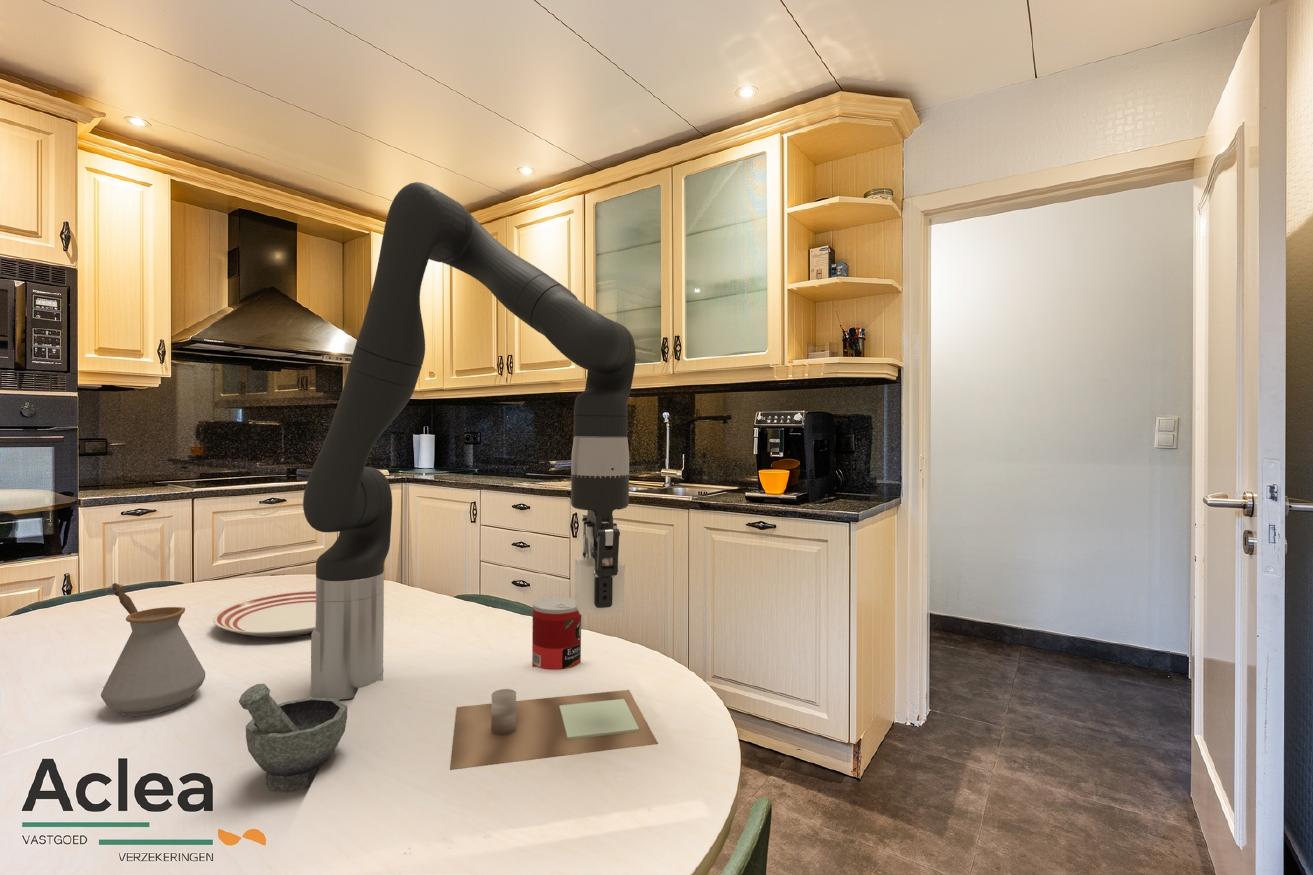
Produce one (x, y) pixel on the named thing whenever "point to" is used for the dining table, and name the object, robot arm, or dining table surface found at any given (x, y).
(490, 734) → the post board
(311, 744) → the mortar and pestle
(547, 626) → the canned food
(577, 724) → the mat
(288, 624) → the dinner plate
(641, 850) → the dining table surface
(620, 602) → the cream drawer box
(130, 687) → the coffee pot
